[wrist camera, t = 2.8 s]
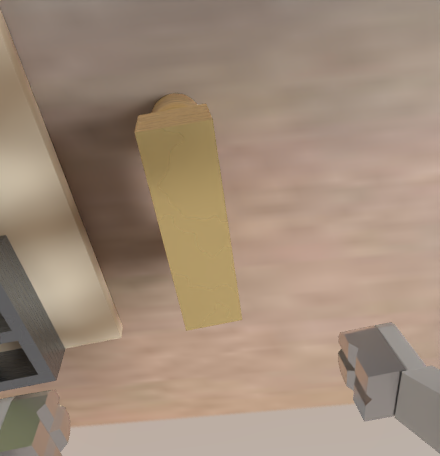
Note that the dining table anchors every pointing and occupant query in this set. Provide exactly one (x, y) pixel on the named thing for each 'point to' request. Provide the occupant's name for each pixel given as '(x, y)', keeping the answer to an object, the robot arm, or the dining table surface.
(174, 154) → the tan bar
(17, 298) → the chain ends
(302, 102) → the dining table surface
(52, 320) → the chain board
